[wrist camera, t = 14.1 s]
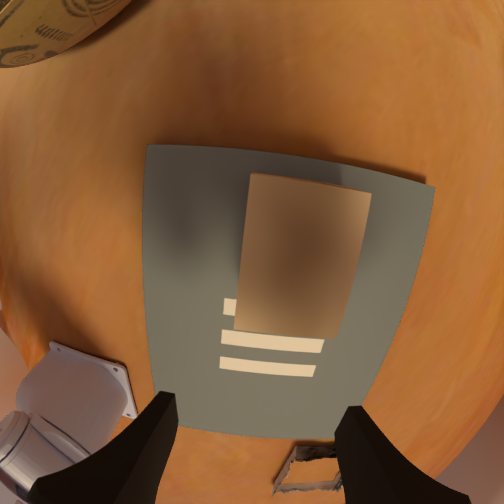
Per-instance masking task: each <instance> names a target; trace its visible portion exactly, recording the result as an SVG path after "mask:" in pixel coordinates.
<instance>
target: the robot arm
mask: <svg viewBox="0 0 504 504" xmlns="http://www.w3.org/2000/svg"><path fill="white" fill-rule="evenodd" d="M49 347H50V351H49V352H48V353H47V354H46V355H45V356H44V357H43V359H42V360H41V361H40V362H39V363H38V364H37V365H36V366H35V367H34V368H33V369H32V370H31V371H30V373H29V374H28V375H27V376H26V377H25V378H24V379H23V380H22V382H21V384H20V385H19V388H18V390H17V395H16V406H17V411H12V412H10V413H9V414H8V415H7V416H6V417H5V418H4V419H3V420H2V421H1V422H0V504H155V500H156V495H157V490H158V486H159V483H160V480H161V477H162V474H163V471H164V469H165V466H166V463H167V460H168V458H169V455H170V452H171V449H172V447H173V444H174V441H175V436H176V432H177V427H178V423H179V419H178V412H177V405H176V397H175V393H170V392H166V391H159V392H158V393H157V395H156V396H155V397H154V398H153V400H152V401H151V402H150V403H149V404H148V406H147V407H146V408H145V409H144V410H143V411H142V412H141V413H140V414H139V415H138V414H137V410H136V407H135V403H134V399H133V395H132V391H131V387H130V383H129V379H128V374H127V370H126V368H125V367H124V366H122V365H120V364H116V363H113V362H109V361H106V360H103V359H100V358H97V357H94V356H91V355H88V354H85V353H82V352H79V351H77V350H74V349H71V348H69V347H66V346H63V345H61V344H58V343H56V342H53V341H51V342H50V343H49ZM116 368H117V369H116ZM122 415H123V416H126V417H129V418H132V419H135V420H134V421H133V422H132V423H131V424H130V425H129V426H128V427H126V428H125V429H124V430H123V431H122V432H121V433H120V434H119V435H118V436H116V437H115V438H114V439H113V440H112V441H110V442H109V440H110V438H111V436H112V434H113V432H114V430H115V428H116V426H117V424H118V422H119V420H120V418H121V416H122ZM334 436H335V448H336V455H337V460H338V465H339V469H340V474H341V478H342V483H343V487H344V493H345V502H346V504H471V501H470V499H469V496H468V495H465V494H463V493H460V492H458V491H455V490H453V489H450V488H448V487H446V486H444V485H442V484H441V483H439V482H437V481H435V480H434V479H432V478H431V477H429V476H428V475H426V474H425V473H423V472H422V471H421V470H419V469H418V468H417V467H416V466H414V465H413V464H412V463H411V462H410V461H408V460H407V459H406V458H405V457H404V456H403V455H402V454H401V453H400V452H399V451H398V450H397V449H396V448H395V447H394V445H393V444H392V443H391V442H390V441H389V440H388V439H387V437H386V436H385V435H384V434H383V433H382V431H381V430H380V429H379V428H378V426H377V425H376V424H375V423H374V421H373V420H372V419H371V418H370V416H369V415H368V414H367V412H366V411H365V410H364V409H363V407H362V406H361V405H360V406H348V408H347V410H346V412H345V414H344V416H343V417H342V419H341V421H340V423H339V425H338V427H337V429H336V430H335V432H334ZM108 442H109V443H108Z"/></svg>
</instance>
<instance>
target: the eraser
mask: <svg viewBox="0 0 504 504" xmlns="http://www.w3.org/2000/svg"><path fill="white" fill-rule="evenodd" d="M371 195H372V194H371V193H368V192H364V191H361V190H357V189H354V188H350V187H346V186H342V185H337V184H331V183H326V182H320V181H314V180H308V179H301V178H295V177H288V176H281V175H273V174H266V173H257V172H254V173H252V174H251V175H250V184H249V192H248V201H247V209H246V218H245V227H244V236H243V245H242V254H241V263H240V272H239V281H238V291H237V300H236V310H235V319H234V329H235V330H243V331H251V332H259V333H268V334H278V335H289V336H300V337H313V338H329V339H336V338H337V335H338V332H339V329H340V326H341V322H342V319H343V316H344V312H345V309H346V306H347V302H348V299H349V295H350V291H351V288H352V284H353V280H354V276H355V272H356V268H357V264H358V260H359V255H360V251H361V247H362V242H363V237H364V233H365V228H366V223H367V218H368V212H369V207H370V201H371Z"/></svg>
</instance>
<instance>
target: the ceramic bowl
mask: <svg viewBox="0 0 504 504" xmlns="http://www.w3.org/2000/svg"><path fill="white" fill-rule="evenodd" d="M131 1H132V0H0V68H12V67H19V66H24V65H29V64H33V63H36V62H40V61H42V60H45V59H48V58H50V57H53V56H55V55H57V54H59V53H61V52H63V51H65V50H67V49H68V48H70V47H72V46H74V45H75V44H77V43H78V42H80V41H82V40H83V39H85V38H86V37H88V36H89V35H91V34H92V33H93V32H95V31H96V30H98V29H99V28H100V27H102V26H103V25H104V24H106V23H107V22H108V21H109V20H111V19H112V18H113V17H114V16H116V15H117V14H118V13H119V12H121V11H122V10H123V9H124V8H125V7H126V6H127V5H128V4H129V3H130V2H131Z"/></svg>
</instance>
